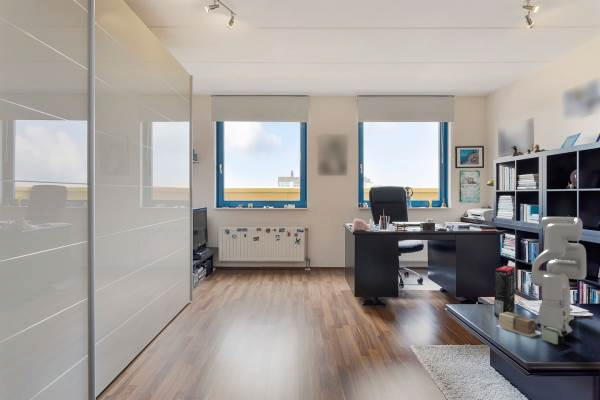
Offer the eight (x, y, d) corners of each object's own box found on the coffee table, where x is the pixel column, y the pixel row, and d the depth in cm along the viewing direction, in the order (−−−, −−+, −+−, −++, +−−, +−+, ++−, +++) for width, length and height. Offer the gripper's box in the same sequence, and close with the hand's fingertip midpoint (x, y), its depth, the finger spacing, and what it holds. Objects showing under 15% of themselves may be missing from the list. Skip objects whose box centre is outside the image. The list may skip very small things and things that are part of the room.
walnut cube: (522, 328, 175) (522, 316, 175) (535, 332, 169) (535, 319, 169) (515, 330, 172) (515, 318, 172) (528, 334, 166) (528, 321, 166)
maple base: (507, 323, 182) (507, 311, 182) (521, 327, 176) (520, 315, 176) (499, 325, 179) (498, 313, 179) (512, 329, 172) (512, 317, 172)
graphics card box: (502, 310, 206) (502, 264, 206) (516, 313, 201) (515, 266, 201) (494, 317, 194) (493, 269, 194) (508, 320, 189) (507, 270, 189)
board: (508, 324, 183) (508, 322, 183) (543, 335, 168) (543, 332, 168) (495, 328, 178) (495, 325, 178) (530, 339, 163) (530, 337, 163)
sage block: (548, 339, 163) (548, 326, 163) (563, 344, 158) (563, 331, 158) (541, 342, 160) (541, 329, 160) (556, 347, 155) (556, 333, 155)
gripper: (578, 305, 153) (578, 346, 153) (536, 296, 168) (536, 333, 168) (569, 308, 150) (569, 350, 150) (527, 298, 165) (527, 336, 165)
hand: (552, 341), depth 159 cm, fingers closed on sage block, 6 cm apart
